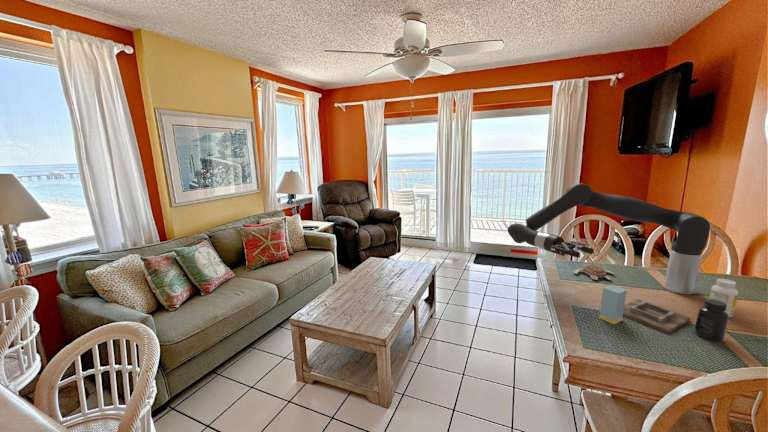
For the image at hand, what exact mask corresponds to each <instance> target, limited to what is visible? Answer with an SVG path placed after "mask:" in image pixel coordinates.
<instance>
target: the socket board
mask: <svg viewBox="0 0 768 432" xmlns="http://www.w3.org/2000/svg"><path fill="white" fill-rule="evenodd" d="M623 315H625V316H624V317H626V316H627V317H626V318H628V317H629V319H631V318H632V319H631V320H633V319H634V321H635V320H636V321H635V322H638V323H640V324H643V325H646V326H648V327H650V328H652V329H655V330H658V331H660V332H662V333H665V334H666V335H667V334H669V333H671V332H673V331H674V330H677V329H678V327H679V328H680V327H683V326H684V325H685V324H688V323H689V322H691V320H692V319H691V317H689V316H687V315H684V314H681V313H677V312H675V311H673V310H670V309H668V308H666V307H665V308H664V307H661V306H658V305H656V304H653V303H650V302H648V301H645V300H642V299H639V298H638V299H635V300H633V301H631V302H628V303H626V304H625V306H624V313H623Z"/></svg>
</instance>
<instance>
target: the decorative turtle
mask: <svg viewBox="0 0 768 432" xmlns="http://www.w3.org/2000/svg"><path fill="white" fill-rule="evenodd" d="M581 271H583V273H585V274H586V275H587V276H590V279H592V280H594V281H595V280H596V281H598V280H599V279H602V278H605V279H606V280H609V281H612V278H611V276H609V275H608V274H611V275H615V272H612V271H610V270H607V269H603V268H602V267H600V266H599V265H596V264H588V263H584V264H583V266H582V267H581V268H580V267H579V268H575V269H574V270H573V271H572V272H573V274H576V275H578V274H579V272H581Z"/></svg>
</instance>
